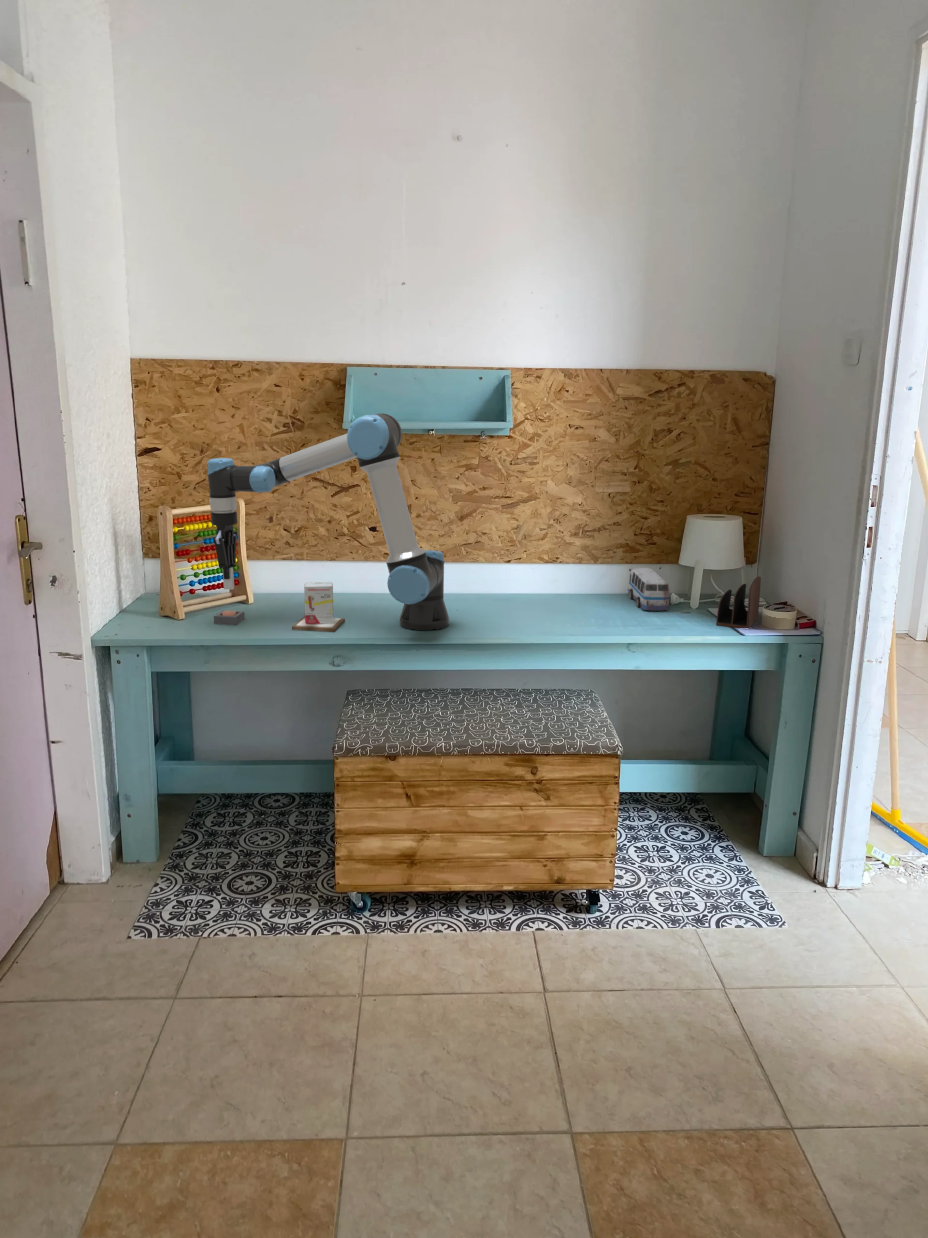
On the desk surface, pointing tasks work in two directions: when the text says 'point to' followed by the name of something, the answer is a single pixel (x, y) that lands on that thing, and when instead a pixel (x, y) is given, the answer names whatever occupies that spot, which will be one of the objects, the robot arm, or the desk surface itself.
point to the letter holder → (739, 607)
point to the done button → (229, 613)
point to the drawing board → (318, 625)
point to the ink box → (318, 602)
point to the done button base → (229, 618)
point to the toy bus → (648, 589)
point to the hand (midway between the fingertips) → (229, 588)
